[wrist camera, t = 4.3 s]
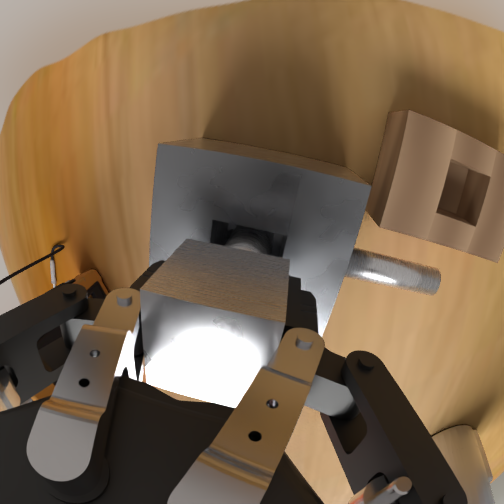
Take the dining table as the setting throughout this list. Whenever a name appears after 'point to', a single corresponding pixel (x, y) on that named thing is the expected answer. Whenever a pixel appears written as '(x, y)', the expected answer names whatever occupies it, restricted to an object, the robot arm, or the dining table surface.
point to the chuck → (274, 214)
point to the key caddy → (439, 186)
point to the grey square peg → (214, 316)
